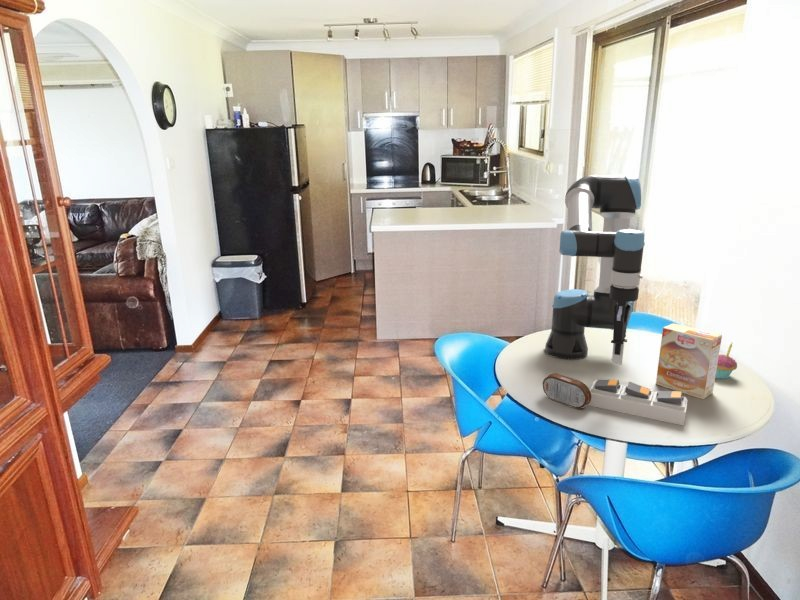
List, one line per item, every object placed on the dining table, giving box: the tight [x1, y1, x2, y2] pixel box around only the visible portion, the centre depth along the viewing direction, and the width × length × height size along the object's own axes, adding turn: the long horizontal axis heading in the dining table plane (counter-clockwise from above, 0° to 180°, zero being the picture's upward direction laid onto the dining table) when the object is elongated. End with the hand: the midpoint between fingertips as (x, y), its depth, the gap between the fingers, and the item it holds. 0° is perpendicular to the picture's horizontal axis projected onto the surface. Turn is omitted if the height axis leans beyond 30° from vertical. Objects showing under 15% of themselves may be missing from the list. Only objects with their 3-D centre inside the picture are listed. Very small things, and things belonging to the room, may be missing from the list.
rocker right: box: [657, 390, 683, 404], centre depth 157 cm, size 6×5×2 cm
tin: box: [542, 372, 591, 410], centre depth 165 cm, size 15×3×8 cm, turn 44°
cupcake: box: [715, 342, 738, 380], centre depth 181 cm, size 9×8×12 cm
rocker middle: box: [625, 381, 651, 399], centre depth 161 cm, size 6×5×2 cm
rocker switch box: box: [587, 379, 688, 426], centre depth 162 cm, size 28×9×5 cm, turn 61°
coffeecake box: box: [655, 322, 723, 400], centre depth 172 cm, size 15×7×20 cm, turn 40°
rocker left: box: [595, 379, 620, 391], centre depth 165 cm, size 6×5×2 cm
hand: (616, 363), depth 161 cm, fingers closed
